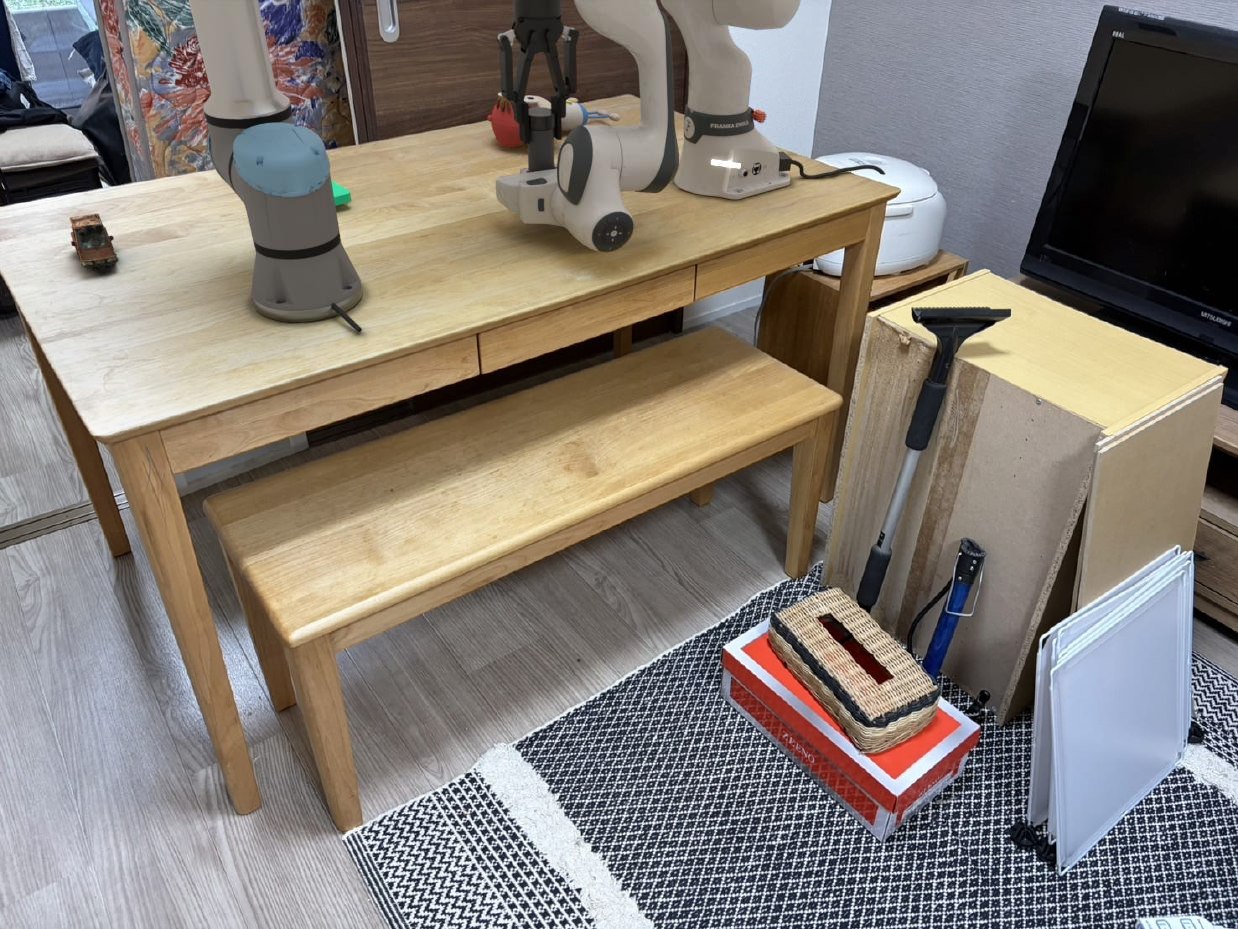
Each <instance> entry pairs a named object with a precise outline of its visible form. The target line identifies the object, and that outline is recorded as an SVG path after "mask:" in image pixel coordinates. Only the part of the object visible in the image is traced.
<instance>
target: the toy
mask: <svg viewBox="0 0 1238 929" xmlns="http://www.w3.org/2000/svg"><path fill="white" fill-rule="evenodd" d="M497 96H498V97H497V99H496V104H494V107H493V109H492V112H491V114H489V115H487V121H488V122H490V125H491V129H492V132H493V135H494V137H495V139H496V141H497V142H498V144H499V145H500V146H501V147H504V148H514V147H516V148H517V147H520V146H523V145H525V144H524V143H523V142H522V141H521V140H520V135H519V123H517V122H516V121H515V120H514V113H513V101H508V100H507V99H505V98H504V97H503V96H502V95H501V92H498V93H497ZM524 101H525V102H527V103H528V104H529V109H530V108H536V107H543V108H550V109H551V99H550V100H549V99H548V98H544V97H541V96H539V95H531V94H529V95H525V98H524ZM605 118H606V119H607V118H608V119H609V120H610V121H613V122H615V123H617V122H619V121H620V119H621V118H620V115H619V114H618V113H615V112H611V113H608V111H607V110H606V109H597V111H588V110H587V109H586V107H584V105H582V104H581V103H579V99H577V97H569V98H568V99H567V100H566V117H565V118H561V119H562V132H569V131H570V132H572V130H574V129H575V128H576V127H578V126H586V124H587V123H588V121H589V119H605Z"/></svg>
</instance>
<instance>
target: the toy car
mask: <svg viewBox="0 0 1238 929" xmlns="http://www.w3.org/2000/svg"><path fill="white" fill-rule="evenodd" d="M69 221H70V224H71V226H70V227H71V230H72V231H71V232H70V236H71V241H70V243H71V244H70V245H71V246H72V247H74V248H75V252H76V254H77V257H79V258H80V259H79V262H81V267H82V268H84V269H85V268H86V269H92V268H99V271H100V273H101V274H105V273H106V269H105V267H111V266H113V265H115V264H117V263H118V262H119V261H120V260H119V258H118V255H117V253H116V252H115V248H114V244H113V242H112V241H114V240H115V238H114V235H109V232H108V230H107V228H106V226H105V225H104V224H103V221H102V219H101V217H100V214H99V213H89V214H84V215H76V216H71V217H69Z"/></svg>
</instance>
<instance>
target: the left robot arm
mask: <svg viewBox="0 0 1238 929" xmlns="http://www.w3.org/2000/svg"><path fill="white" fill-rule="evenodd" d="M188 4H189V8H190V12H191V16H192V19H193V24H194V25H193V26H194V29H195V32H196V37H197V40H198V45H199V48H200V52H201V57H202V60H203V64H204V69H205V73H206V77H207V81H208V85H209V89H210V96H208V97H209V98H208V99H207V100H206V101H205V103H204V104H203V107H202V108H203V113H204V117H205V122H206V125H207V128H208V134H207V150H208V155H209V158H210V162H211V163H212V167H213V168H214V170H215V171H216V173H217V174H218V175H219V177H220V178H221V179H222V180H223V181H224V182H225V183H226V185H228V186H229V187H230V188H231V190H232V191H234V193H235V194H236V196H237V197H238V198H239V199H240V200H241V202H242V203H243V206H244V208H245V211H246V215H247V219H248V220H247V221H248V223H249V228H250V233H251V237H252V242H253V247H254V251H255V258H254V264H253V273H252V283H251V291H250V294H251V299H252V303H253V307H254V309H255V310H256V311H257V313H259V314H260V315H262V316H264V317H266V318H268V319H271V320H275V321H281V322H289V323H304V322H314V321H315V322H316V321H320V320H326V319H330V318H332V317H336V316H338V315H339V317H341V318H342V319H343V320H344V321H345V322H346V323H347V324H348V325H349V326H350V327H351V328H352V329H353V330H355V332H356V333H358V334H360V333H362V332H363V328H362V327H361V325H359V324H358V323H356V321H355V320H354V319H352V317H350V316H349V315H348V314H347V313H346V312H348V311H349V310H351V309H353V308H354V307H355V306H356V305H357V304H358V303H359V302H360V301H361V298H362V297H363V287H362V282H361V278H360V276H359V274H358V272H357V270H356V268H355V266H354V264H353V263H352V261H351V259H350V257H349V255H348V253H347V251H346V250H345V248H344V245H343V243H342V239H341V233H340V225H339V220H338V214H337V207H336V206H335V200H334V194H333V188H332V182H331V181H332V177H331V162H330V158H329V156H328V153H327V150H326V146H325V144H324V143H325V142H324V141H323V139H322V138H321V137H320V135H318V133H317V132H315V131H313V130H311V129H310V128H308V127H305V126H302V125H298V126H297V125H296V124H295V119H294V114H293V109H292V108H293V107H292V103H291V100H290V98H289V97H288V96H286V95H285V94H283V93H282V92H281V91H280V90H279V89H278V88H277V86H276V81H275V76H274V72H273V67H272V66H273V65H272V60H271V56H270V52H269V47H268V41H267V36H266V33H265V28H264V23H263V17H262V13H261V12H262V11H261V8H260V2H259V0H188ZM512 9H513V10H512V12H513V22H512V25H511V29H509V30H507V31H505V32H503V33H502V32H496V34H495V40H496V41H497V44H498V47H499V63H500V64H499V67H500V68H499V69H500V93H501V95H502V96H503V97H504V98H505V99H507V100H508V101H513V113H514V120H515V121H516V122H517V123H519V135H520V140H521V141H522V142H523V143H524V145H528V144H530V135H529V104H528V103H527V102H525V101H524V98H525V96H526V92H527V88H528V82H529V78H530V74H531V73H530V72H531V66H532V62H533V61H534V59H535V55H536V54H539V53H543V54H544V56H545V60H546V64H547V67H548V71H549V76H550V79H551V83H552V87H553V91H554V94H555V95H551V96H550V101H551V109H553V110H555V112H556V126H555V127H554V140H556V141H562V140H563V139H562V138H563V131H562V119H561V118H565V117H566V100H567V99H569V98H570V96H571V95H575V94H576V93H577V92H578V70H577V67H578V66H577V43H578V41H579V37H580V31H579V30H578V29H577V28H574V27H573V26H566V25H564V22H563V20H562V0H512ZM560 38H562V40H563V72H562V68H561V64H560V60H559V52H558V48H557V43H558V41H559V39H560ZM514 39H516V41H517V42H518V43H519V49H518V61H517V67H516V71H515V77H514V67H513V66H514V63H513V62H514V57H513V56H514V55H513V48H512V47H513V46H514Z"/></svg>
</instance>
